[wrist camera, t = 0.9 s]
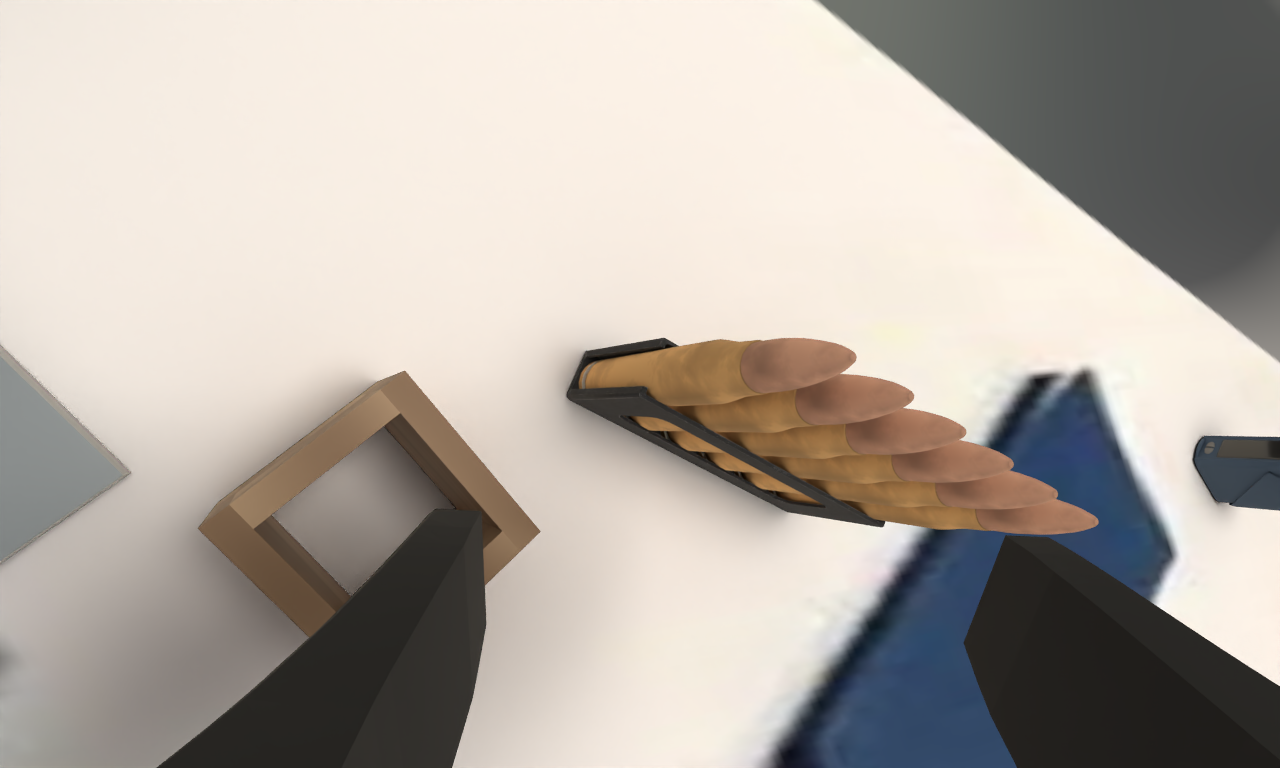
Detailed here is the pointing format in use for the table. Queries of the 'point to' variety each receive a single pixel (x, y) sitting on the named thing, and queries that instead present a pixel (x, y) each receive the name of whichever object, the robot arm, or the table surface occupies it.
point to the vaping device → (1241, 470)
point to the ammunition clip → (814, 435)
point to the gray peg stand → (43, 460)
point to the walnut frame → (391, 402)
